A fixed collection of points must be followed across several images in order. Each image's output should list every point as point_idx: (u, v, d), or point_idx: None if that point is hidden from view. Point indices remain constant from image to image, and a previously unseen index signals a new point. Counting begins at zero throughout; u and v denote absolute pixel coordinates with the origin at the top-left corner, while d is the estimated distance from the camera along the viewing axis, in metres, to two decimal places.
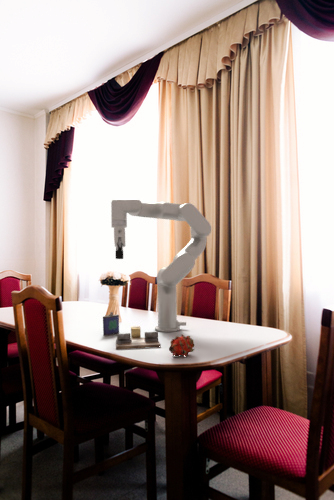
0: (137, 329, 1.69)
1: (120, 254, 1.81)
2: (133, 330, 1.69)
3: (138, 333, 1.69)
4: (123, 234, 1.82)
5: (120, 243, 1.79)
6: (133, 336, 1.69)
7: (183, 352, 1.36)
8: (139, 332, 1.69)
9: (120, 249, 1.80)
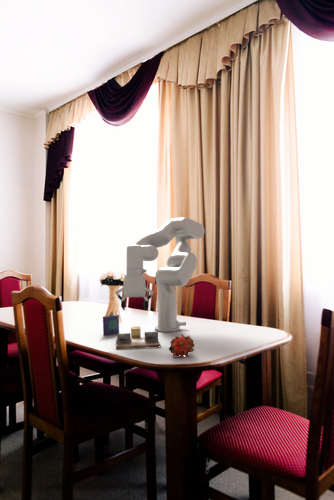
0: (137, 329, 1.69)
1: None
2: (133, 330, 1.69)
3: (138, 333, 1.69)
4: None
5: (152, 293, 1.73)
6: (133, 336, 1.69)
7: (183, 352, 1.36)
8: (139, 332, 1.69)
9: (148, 299, 1.72)
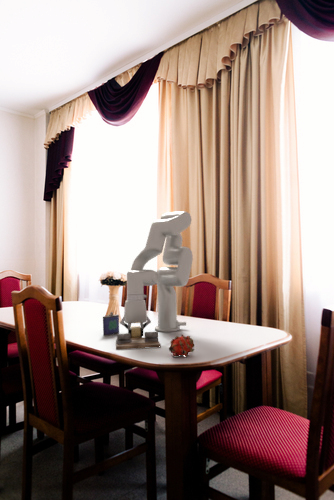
0: (137, 329, 1.69)
1: None
2: (133, 330, 1.69)
3: (138, 333, 1.69)
4: None
5: None
6: (133, 336, 1.69)
7: (183, 352, 1.36)
8: (139, 332, 1.69)
9: None
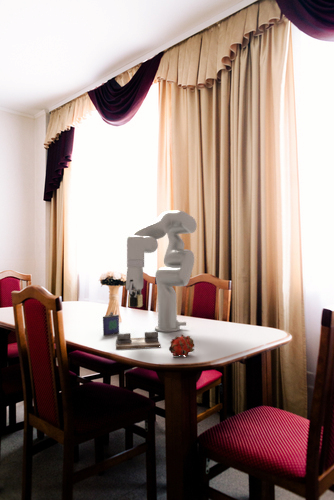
0: (141, 295, 1.64)
1: None
2: (140, 297, 1.63)
3: (141, 300, 1.65)
4: None
5: None
6: (139, 303, 1.62)
7: (183, 352, 1.36)
8: None
9: None
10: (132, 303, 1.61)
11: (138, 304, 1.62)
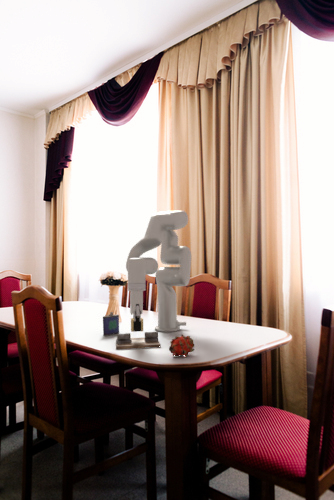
0: (142, 319, 1.61)
1: None
2: None
3: None
4: None
5: None
6: None
7: (183, 352, 1.36)
8: None
9: None
10: (137, 328, 1.57)
11: (142, 328, 1.58)
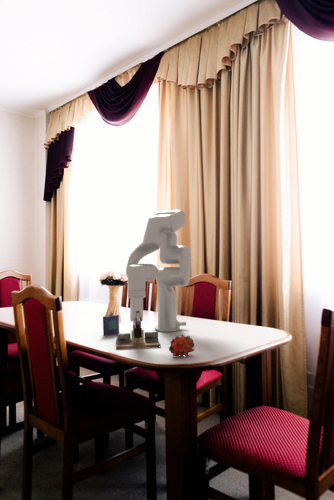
0: None
1: None
2: (143, 331, 1.59)
3: None
4: None
5: None
6: (143, 338, 1.59)
7: (183, 352, 1.36)
8: None
9: None
10: (137, 334, 1.55)
11: (142, 339, 1.59)
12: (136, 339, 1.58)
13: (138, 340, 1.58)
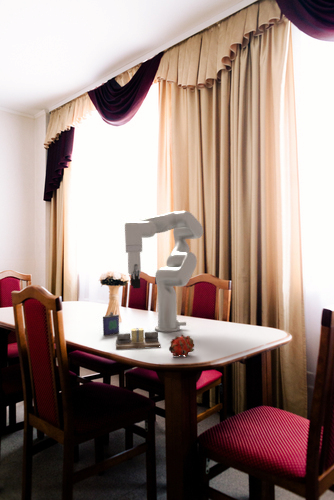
0: None
1: None
2: (143, 331, 1.59)
3: None
4: None
5: None
6: (143, 338, 1.59)
7: (183, 352, 1.36)
8: None
9: None
10: (136, 285, 1.65)
11: (142, 339, 1.59)
12: (136, 339, 1.58)
13: (138, 340, 1.58)
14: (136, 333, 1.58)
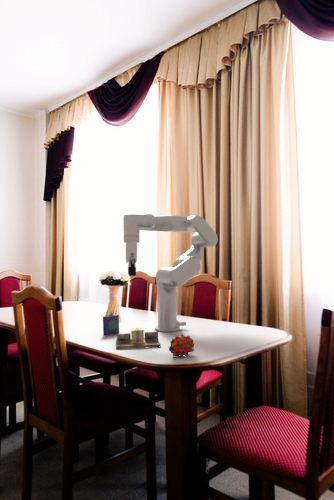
0: None
1: None
2: (143, 331, 1.59)
3: None
4: None
5: None
6: (143, 338, 1.59)
7: (183, 352, 1.36)
8: None
9: None
10: (132, 272, 1.74)
11: (142, 339, 1.59)
12: (136, 339, 1.58)
13: (138, 340, 1.58)
14: (136, 333, 1.58)
